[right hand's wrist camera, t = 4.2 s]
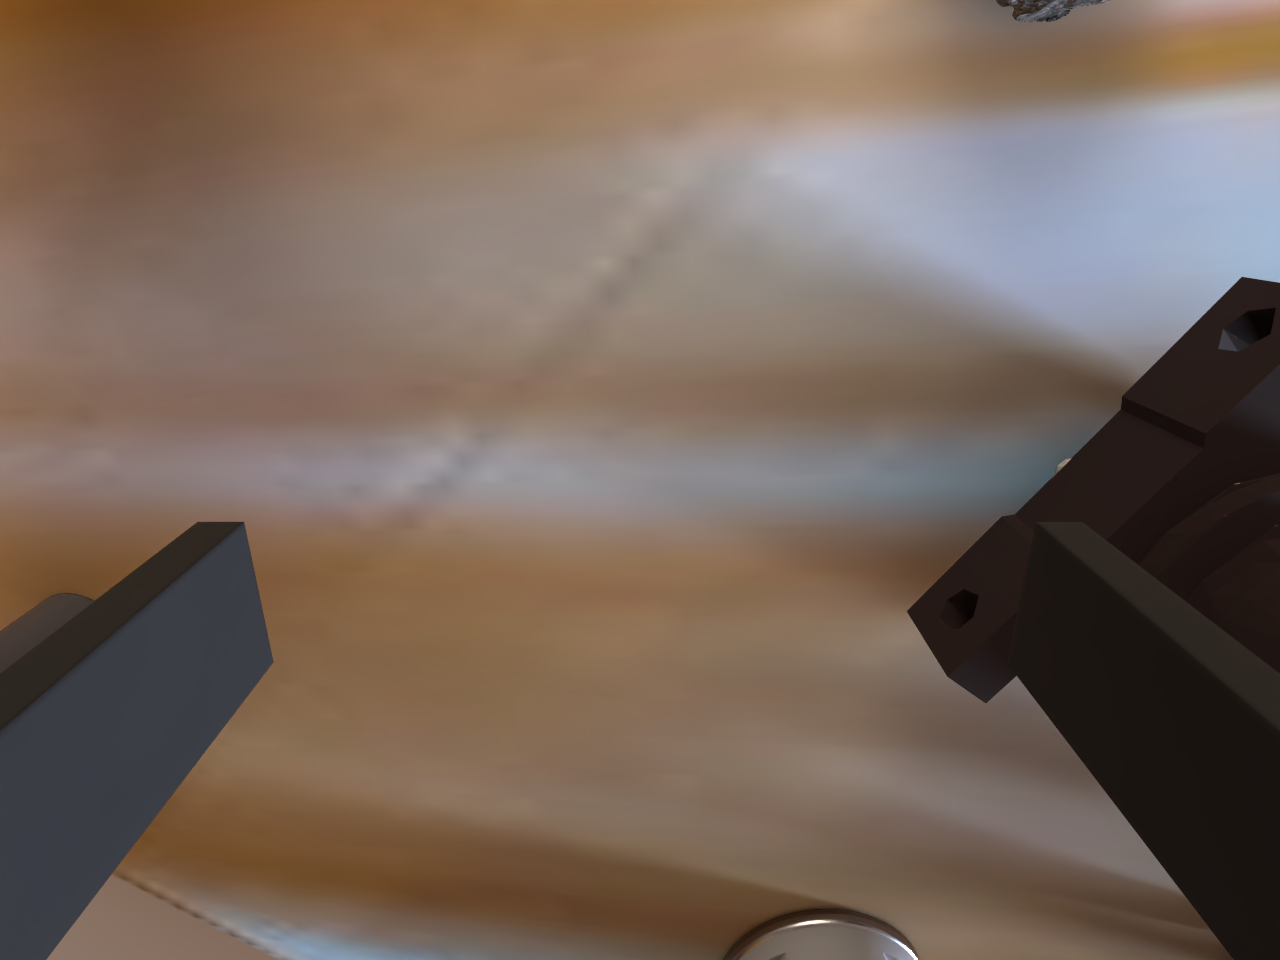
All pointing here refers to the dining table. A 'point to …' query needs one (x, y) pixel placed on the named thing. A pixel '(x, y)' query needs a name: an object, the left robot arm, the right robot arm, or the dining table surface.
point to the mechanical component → (1152, 498)
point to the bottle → (38, 626)
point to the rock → (1043, 8)
